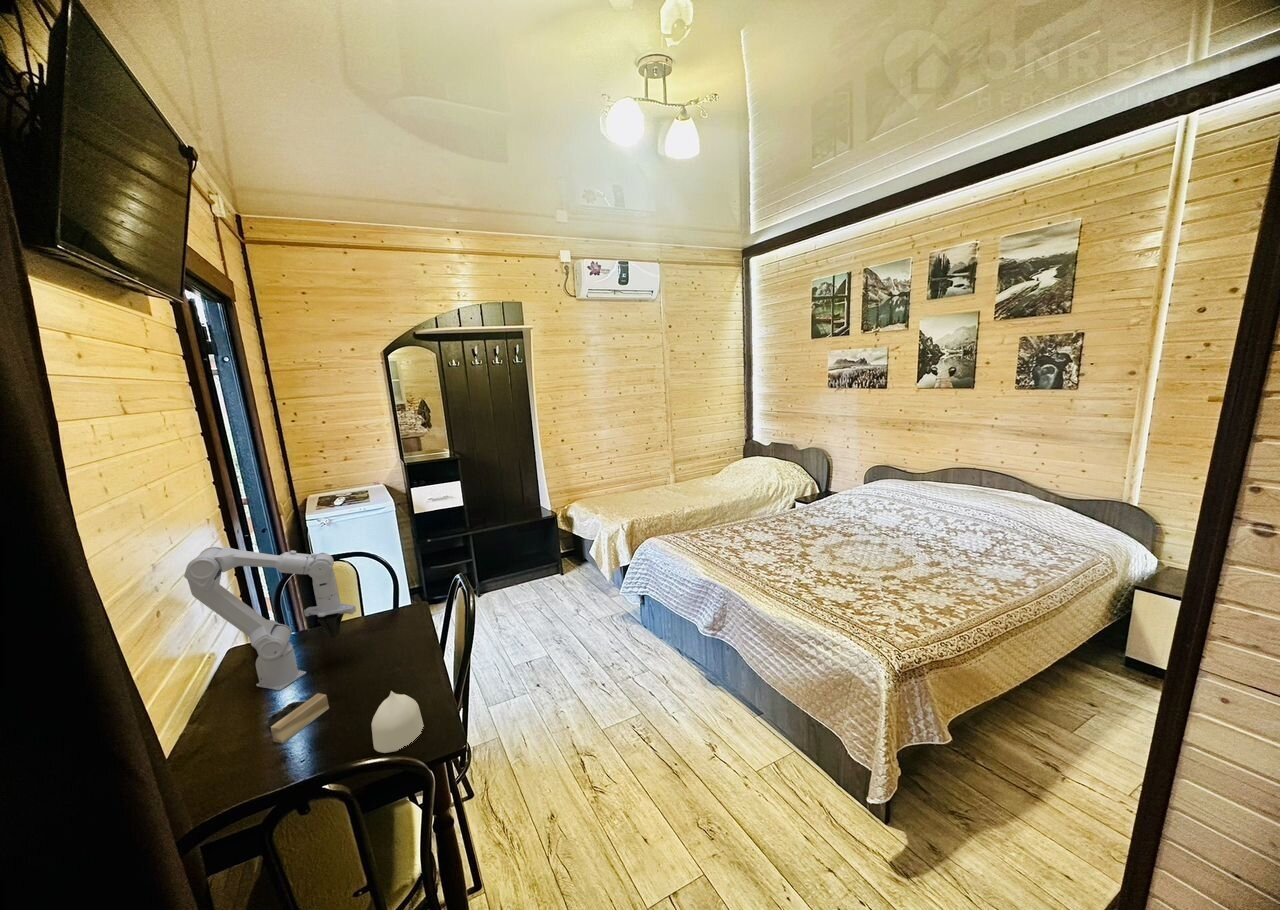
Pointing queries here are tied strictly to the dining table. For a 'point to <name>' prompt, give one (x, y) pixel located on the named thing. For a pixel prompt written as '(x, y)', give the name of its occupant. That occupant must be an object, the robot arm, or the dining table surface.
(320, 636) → the dining table surface
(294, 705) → the gaming controller
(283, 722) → the bench stop
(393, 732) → the teardrop
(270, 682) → the robot arm
